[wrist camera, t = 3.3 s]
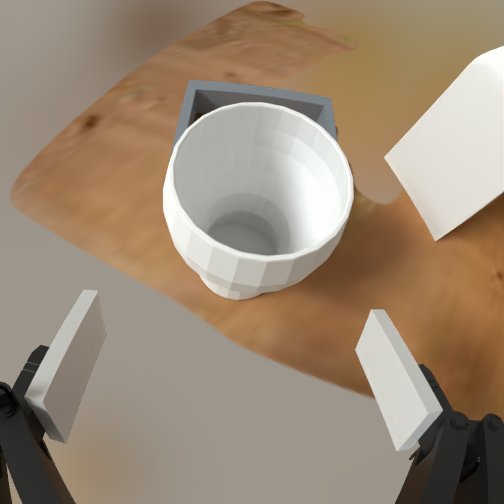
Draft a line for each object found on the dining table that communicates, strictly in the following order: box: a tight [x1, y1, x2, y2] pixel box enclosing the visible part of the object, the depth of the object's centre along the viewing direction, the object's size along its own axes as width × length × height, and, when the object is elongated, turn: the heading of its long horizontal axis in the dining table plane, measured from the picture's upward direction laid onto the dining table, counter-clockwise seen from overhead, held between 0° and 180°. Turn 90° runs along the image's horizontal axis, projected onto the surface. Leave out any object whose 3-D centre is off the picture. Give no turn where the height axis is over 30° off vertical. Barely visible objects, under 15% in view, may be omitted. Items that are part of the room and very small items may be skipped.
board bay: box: [171, 80, 338, 156], centre depth 32 cm, size 16×10×4 cm, turn 87°
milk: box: [384, 46, 504, 241], centre depth 24 cm, size 12×12×26 cm
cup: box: [163, 102, 354, 300], centre depth 23 cm, size 11×11×15 cm
